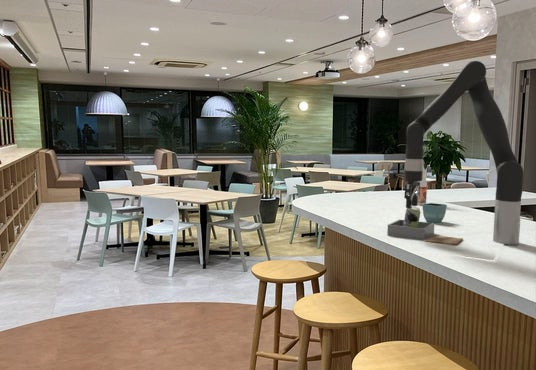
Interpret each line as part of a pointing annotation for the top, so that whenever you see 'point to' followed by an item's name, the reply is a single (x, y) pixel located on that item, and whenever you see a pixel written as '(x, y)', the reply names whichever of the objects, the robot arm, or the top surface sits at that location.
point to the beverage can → (412, 217)
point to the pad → (444, 240)
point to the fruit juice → (423, 188)
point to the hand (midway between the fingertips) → (411, 207)
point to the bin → (411, 230)
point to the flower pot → (434, 212)
